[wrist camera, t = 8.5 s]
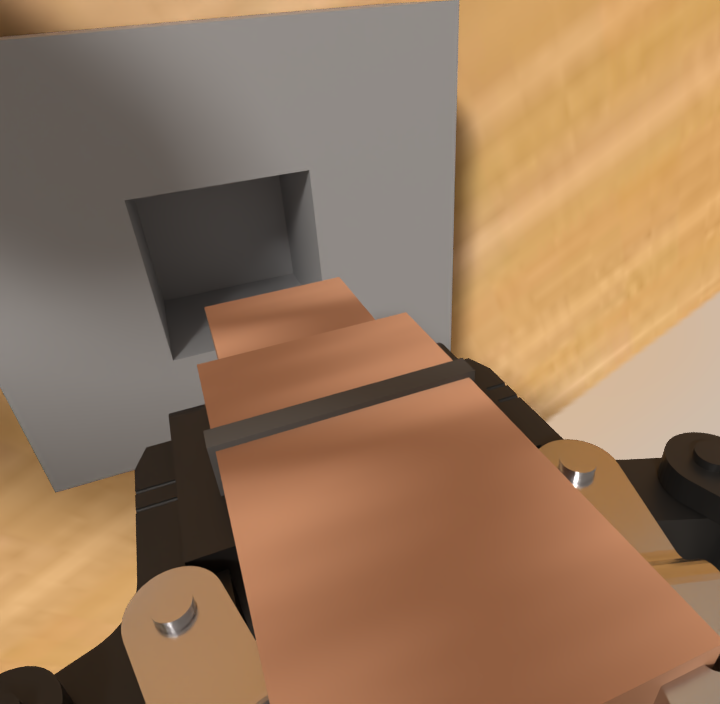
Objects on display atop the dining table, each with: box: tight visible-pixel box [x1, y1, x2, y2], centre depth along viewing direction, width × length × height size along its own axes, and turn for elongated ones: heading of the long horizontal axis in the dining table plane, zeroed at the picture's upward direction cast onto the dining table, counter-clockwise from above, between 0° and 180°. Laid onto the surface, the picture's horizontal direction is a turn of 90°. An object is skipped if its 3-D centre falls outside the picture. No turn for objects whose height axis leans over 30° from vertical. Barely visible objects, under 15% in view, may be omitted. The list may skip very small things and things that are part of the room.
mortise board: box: [0, 0, 459, 493], centre depth 21 cm, size 16×14×6 cm
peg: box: [197, 277, 720, 704], centre depth 10 cm, size 4×4×10 cm
